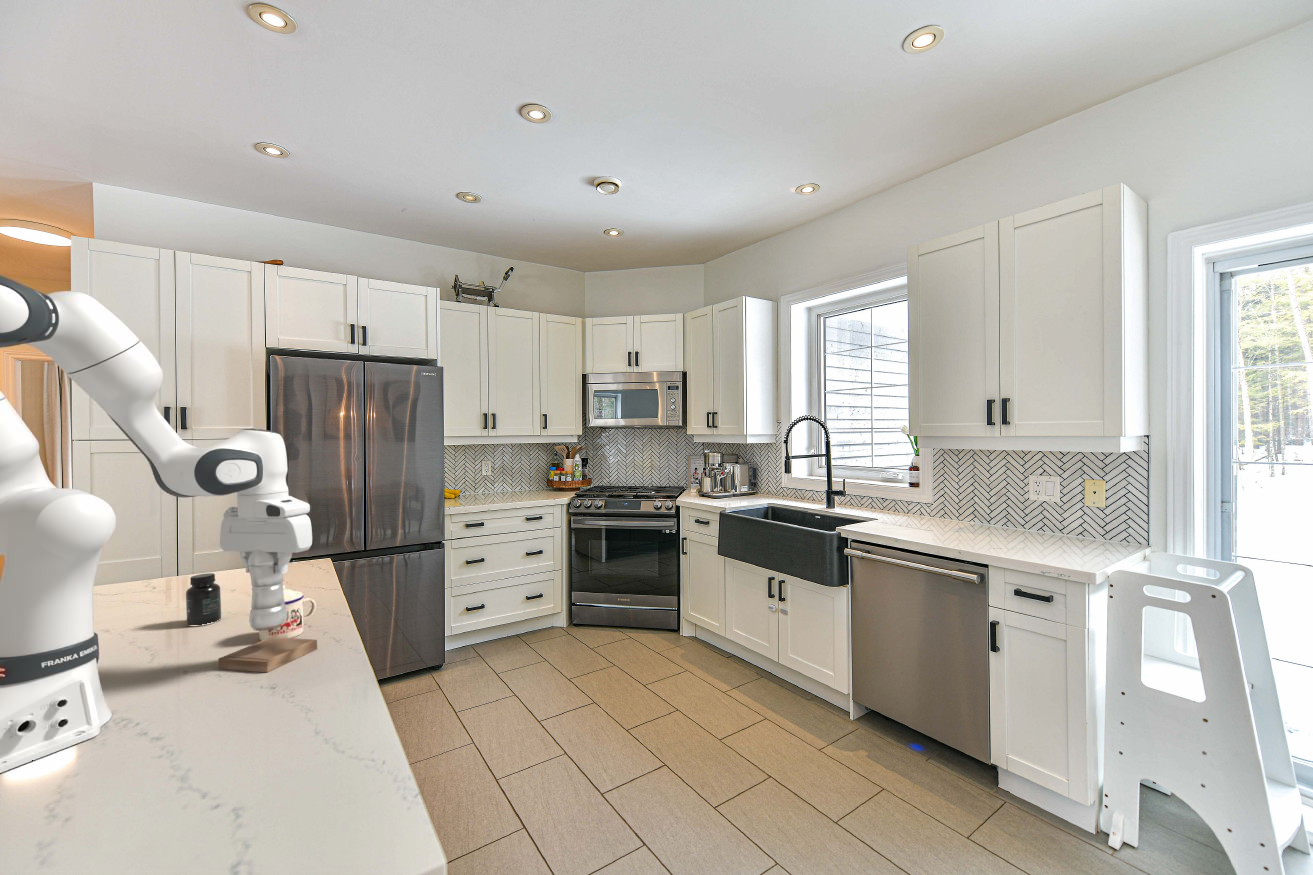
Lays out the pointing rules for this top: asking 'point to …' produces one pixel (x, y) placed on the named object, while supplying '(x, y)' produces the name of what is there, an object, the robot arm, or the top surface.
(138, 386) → the robot arm
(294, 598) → the teacup with lid
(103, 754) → the top surface
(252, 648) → the display stand
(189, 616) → the supplement bottle
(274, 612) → the plastic bottle
